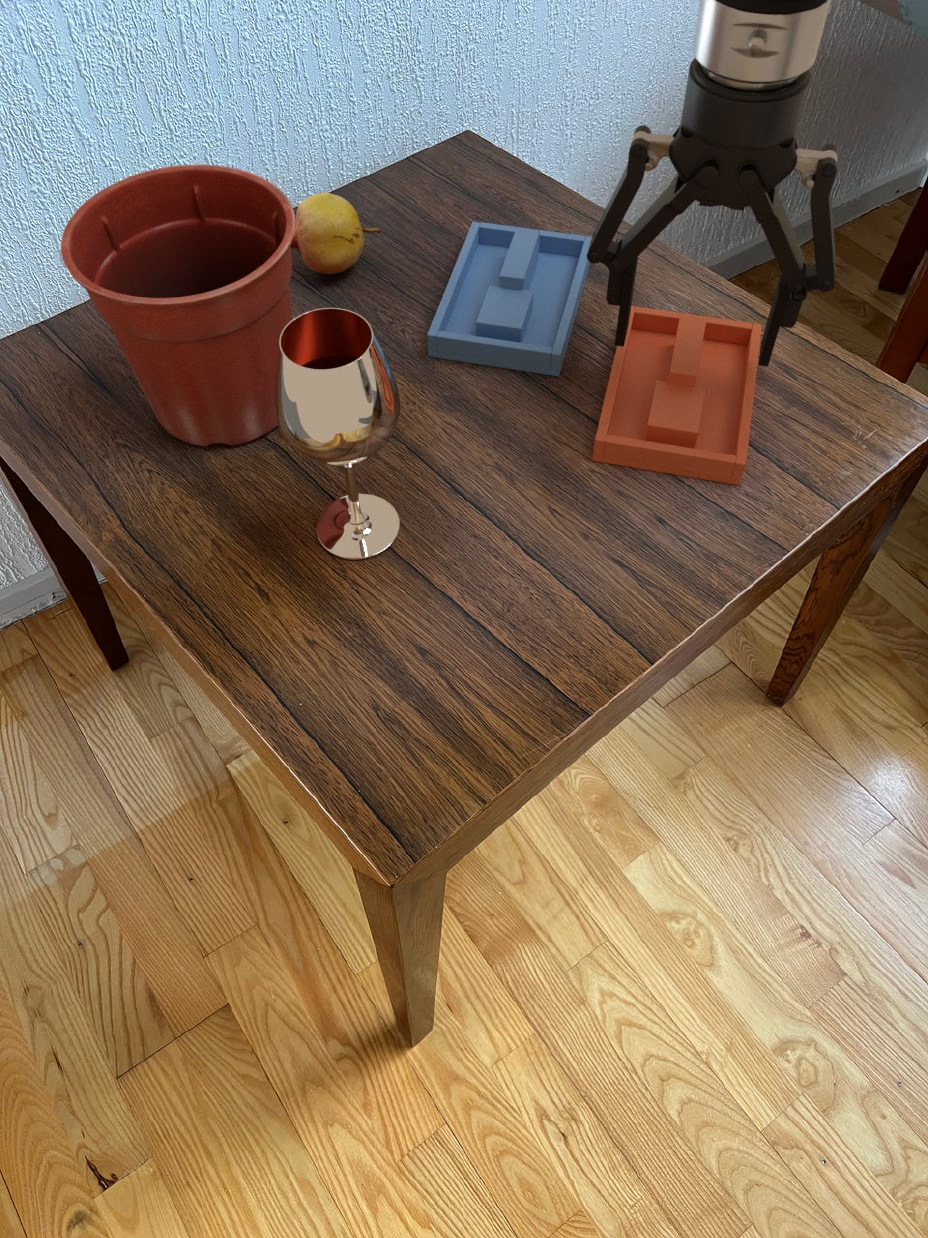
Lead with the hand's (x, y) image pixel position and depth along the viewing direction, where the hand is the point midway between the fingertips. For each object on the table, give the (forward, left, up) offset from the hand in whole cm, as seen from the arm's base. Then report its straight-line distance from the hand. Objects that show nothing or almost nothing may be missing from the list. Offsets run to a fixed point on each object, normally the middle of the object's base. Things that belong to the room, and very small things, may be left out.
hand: (692, 345), depth 78 cm
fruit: (+34, -9, -4) cm, 36 cm away
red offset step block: (0, +2, -3) cm, 4 cm away
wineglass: (+22, +21, -4) cm, 31 cm away
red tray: (0, +2, -4) cm, 5 cm away
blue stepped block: (+16, -7, -3) cm, 18 cm away
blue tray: (+16, -7, -4) cm, 18 cm away
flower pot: (+37, +10, -4) cm, 39 cm away
